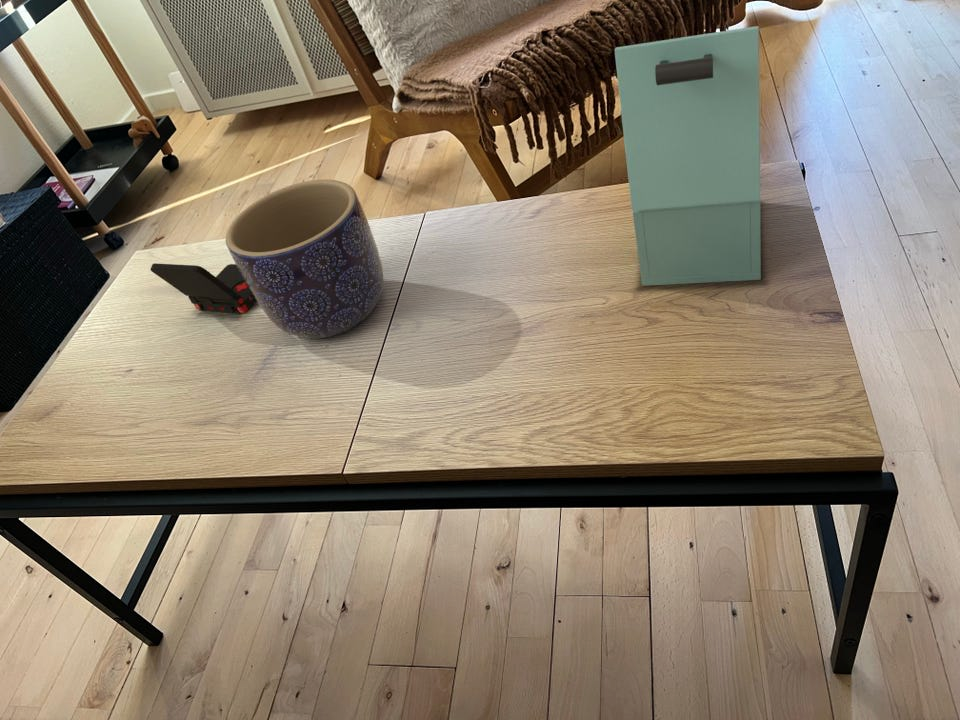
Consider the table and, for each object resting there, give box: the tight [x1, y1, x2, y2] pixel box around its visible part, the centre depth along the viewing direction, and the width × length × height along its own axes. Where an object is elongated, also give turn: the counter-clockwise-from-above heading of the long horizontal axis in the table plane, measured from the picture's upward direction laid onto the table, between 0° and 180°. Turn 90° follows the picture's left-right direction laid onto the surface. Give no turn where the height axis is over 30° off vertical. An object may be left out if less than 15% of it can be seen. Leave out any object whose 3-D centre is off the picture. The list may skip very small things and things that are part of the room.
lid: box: [614, 25, 762, 212], centre depth 76 cm, size 17×13×5 cm
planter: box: [225, 179, 385, 340], centre depth 97 cm, size 16×16×15 cm
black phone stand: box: [150, 262, 257, 315], centre depth 107 cm, size 9×12×10 cm
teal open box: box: [632, 199, 762, 287], centre depth 91 cm, size 16×13×10 cm
